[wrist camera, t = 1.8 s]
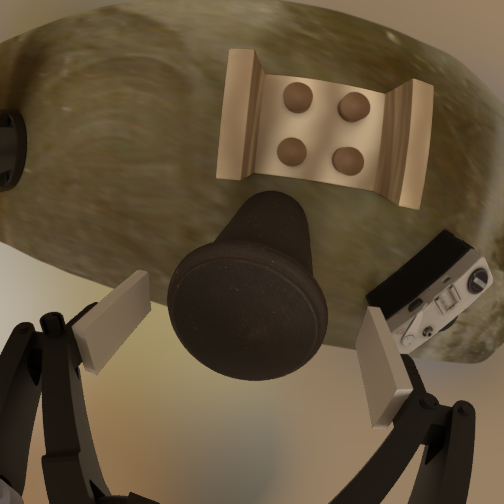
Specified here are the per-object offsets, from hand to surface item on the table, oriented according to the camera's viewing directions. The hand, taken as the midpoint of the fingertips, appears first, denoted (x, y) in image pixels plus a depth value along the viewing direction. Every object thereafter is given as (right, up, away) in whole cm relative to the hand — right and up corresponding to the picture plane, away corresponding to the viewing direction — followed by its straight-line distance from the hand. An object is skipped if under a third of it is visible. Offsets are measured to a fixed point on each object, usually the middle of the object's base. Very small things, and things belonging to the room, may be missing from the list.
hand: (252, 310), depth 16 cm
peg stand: (+7, +16, +12) cm, 21 cm away
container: (+2, +6, +16) cm, 18 cm away
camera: (+21, -1, +16) cm, 27 cm away
